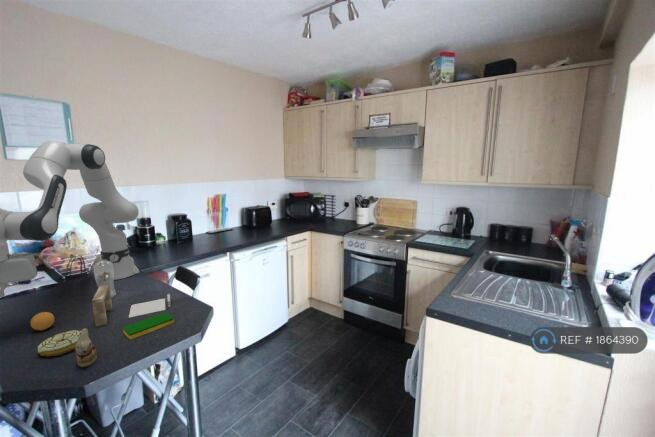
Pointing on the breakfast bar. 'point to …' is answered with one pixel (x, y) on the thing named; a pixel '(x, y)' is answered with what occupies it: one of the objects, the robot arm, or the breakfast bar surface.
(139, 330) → the dish sponge
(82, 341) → the chocolate bunny
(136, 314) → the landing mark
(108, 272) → the beer glass
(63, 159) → the robot arm
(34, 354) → the breakfast bar surface
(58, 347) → the decorated donut
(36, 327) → the ball
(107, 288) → the bridge
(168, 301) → the stopper
